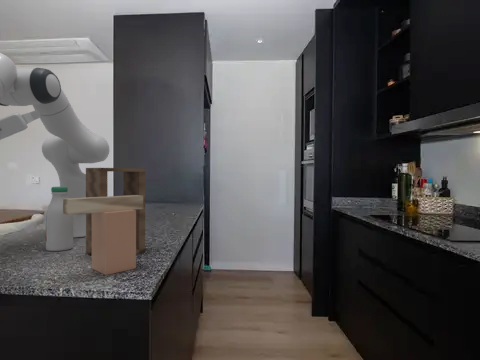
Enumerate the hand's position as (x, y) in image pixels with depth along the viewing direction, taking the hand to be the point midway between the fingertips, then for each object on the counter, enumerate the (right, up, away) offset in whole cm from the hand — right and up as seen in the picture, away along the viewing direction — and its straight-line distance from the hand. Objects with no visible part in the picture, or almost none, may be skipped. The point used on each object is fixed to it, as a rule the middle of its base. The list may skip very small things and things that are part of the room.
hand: (32, 115), depth 79 cm
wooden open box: (+11, -38, +23) cm, 46 cm away
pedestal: (+17, -38, +7) cm, 42 cm away
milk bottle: (-9, -38, +28) cm, 48 cm away
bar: (+15, -23, +5) cm, 28 cm away
